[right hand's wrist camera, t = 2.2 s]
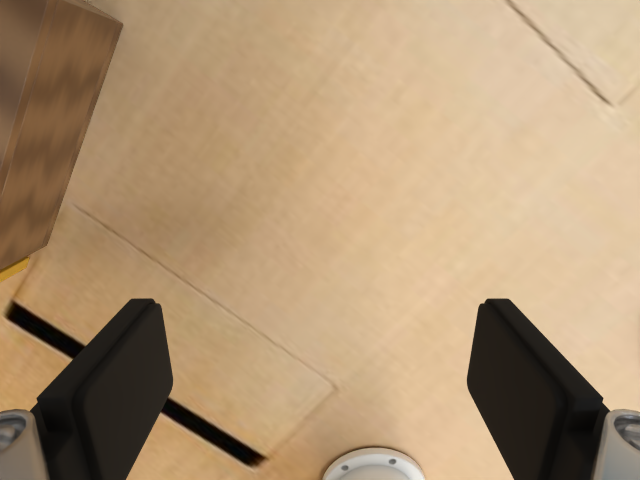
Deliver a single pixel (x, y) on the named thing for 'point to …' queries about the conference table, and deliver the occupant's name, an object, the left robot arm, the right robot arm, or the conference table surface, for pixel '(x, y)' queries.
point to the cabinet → (45, 109)
